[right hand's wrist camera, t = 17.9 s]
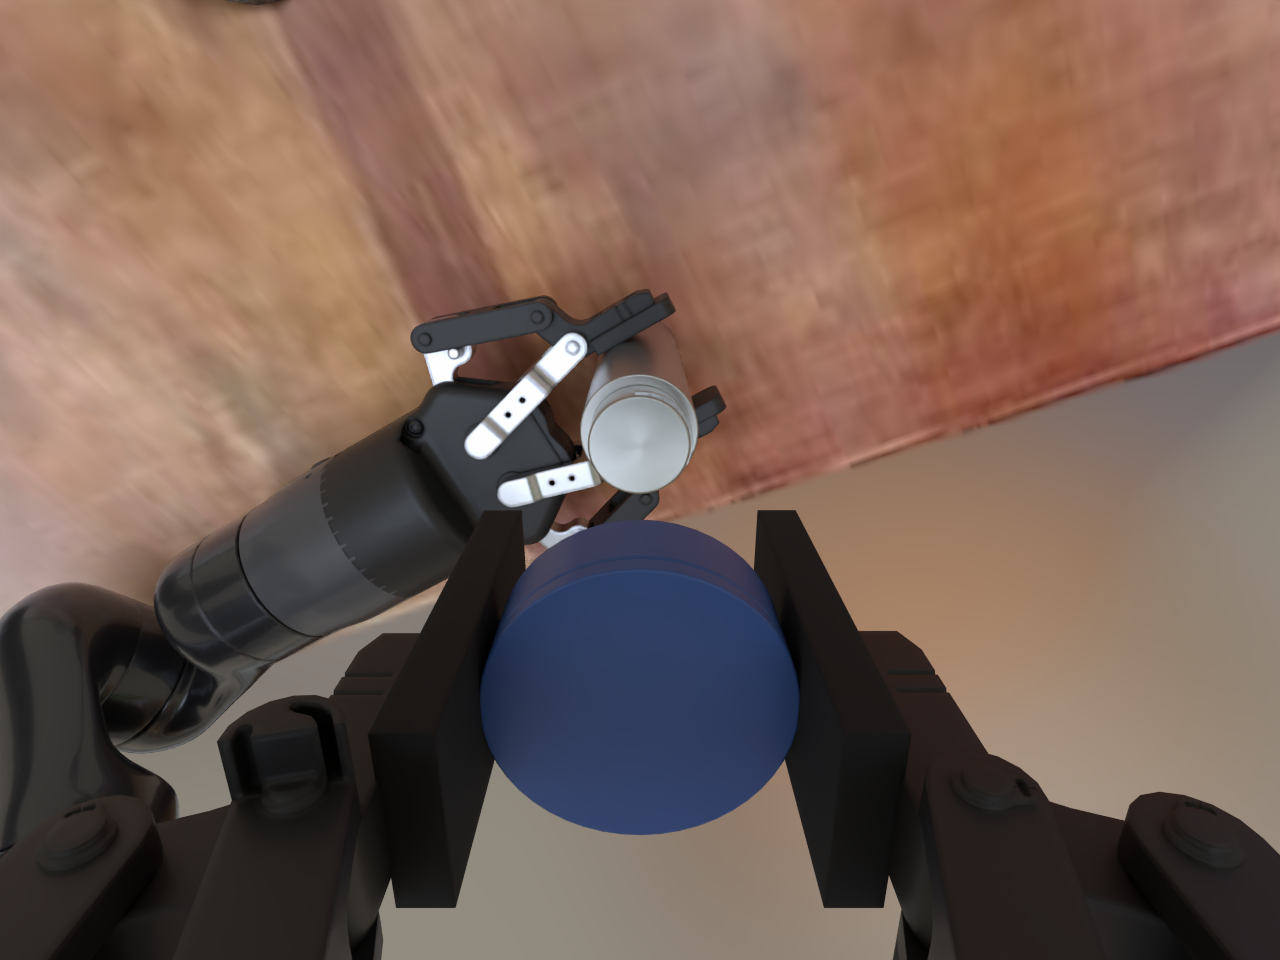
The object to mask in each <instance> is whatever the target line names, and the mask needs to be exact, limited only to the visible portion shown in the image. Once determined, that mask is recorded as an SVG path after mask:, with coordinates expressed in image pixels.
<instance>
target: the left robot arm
mask: <svg viewBox="0 0 1280 960" xmlns="http://www.w3.org/2000/svg"><path fill="white" fill-rule="evenodd" d="M675 311H676V310H675V307H674V305H673V303H672V301H671V300H670V298H669V296H668V294H667V293H664V294H661V295H659V296H658V297H656V298H653V296H652V294H651V292H650V290H649V289H645V290H638V291H635V292H633V293H632V294H630V295H628V296H626V297H625V298H623V299H621V300H619V301H618V302H616V303H614V304H613V305H611V306H609V307H607V308H606V309H604V310H602V311H600V312H599V313H597V314H595V315H594V316H592V317H590V318H588V319H585V320H576V319H573V318H571V317H570V316H569V315H567V314H566V313H565V312H564V311H563V310H562V309H560V308H559V307H558V305H557V303H556V302H555V300H554V299H553V298H551V297H549V296H538V297H533V298H528V299H523V300H518V301H513V302H508V303H503V304H498V305H493V306H488V307H483V308H478V309H473V310H468V311H463V312H458V313H453V314H448V315H443V316H438V317H434V318H432V319H430V320H428V321H426V322H424V323H422V324H420V325H419V326H417V327H415V328H414V329H413V331H412V333H411V343H412V345H413V347H414V348H415V349H416V350H417V351H419V352H421V353H424V356H425V360H426V363H427V366H428V370H429V373H430V376H431V380H432V383H433V387H432V388H431V389H430V390H429V391H428V392H427V394H426V396H425V398H424V400H423V401H422V403H421V404H420V406H419V407H417V408H416V409H414V410H413V411H411V412H409V413H407V414H406V415H404V416H402V417H401V418H399V419H397V420H395V421H394V422H392V423H390V424H389V425H387V426H385V427H383V428H382V429H380V430H378V431H376V432H375V433H373V434H371V435H370V436H368V437H366V438H364V439H363V440H361V441H359V442H358V443H356V444H354V445H352V446H351V447H349V448H347V449H345V450H344V451H342V452H340V453H339V454H337V455H335V456H334V457H330V458H327V459H325V460H322V461H320V462H318V463H317V464H315V465H314V466H312V468H311V469H310V470H309V471H308V472H306V473H304V474H303V475H301V476H299V477H297V478H296V479H294V480H292V481H291V482H289V483H288V484H286V485H285V486H283V487H282V488H281V489H280V490H278V491H277V492H276V493H275V494H273V495H272V496H271V497H270V498H269V499H267V500H266V501H265V502H264V503H262V504H261V505H259V506H258V507H256V508H255V509H253V510H251V511H249V512H248V513H246V514H244V515H243V516H241V517H239V518H237V519H236V520H234V521H232V522H230V523H229V524H227V525H225V526H224V527H222V528H220V529H218V530H217V531H215V532H213V533H212V534H210V535H208V536H207V537H205V538H203V539H202V540H200V541H198V542H196V543H195V544H193V545H192V546H190V547H188V548H187V549H185V550H184V551H183V552H181V553H180V554H179V555H177V556H176V557H175V558H174V559H173V560H172V561H171V562H170V563H169V564H168V565H167V566H166V567H165V569H164V570H163V572H162V573H161V575H160V577H159V579H158V581H157V584H156V588H155V594H154V607H152V606H149V605H147V604H144V603H141V602H139V601H136V600H134V599H131V598H129V597H126V596H123V595H121V594H118V593H116V592H113V591H110V590H108V589H105V588H102V587H99V586H95V585H90V584H85V583H76V582H75V583H61V584H57V585H52V586H49V587H46V588H43V589H41V590H39V591H36V592H34V593H32V594H30V595H29V596H27V597H25V598H24V599H22V600H21V601H20V602H18V603H17V604H16V605H14V606H13V607H12V608H11V609H10V610H8V611H7V612H6V613H5V614H4V615H3V617H2V618H1V619H0V859H1V858H2V857H3V856H4V855H5V854H6V853H7V852H8V851H9V850H10V849H11V848H12V847H13V846H14V845H15V844H16V843H17V842H18V841H19V840H20V839H21V838H23V837H24V836H25V835H26V834H28V833H29V832H30V831H31V830H32V829H34V828H35V827H36V826H37V825H39V824H40V823H41V822H43V821H45V820H47V819H49V818H51V817H52V816H54V815H56V814H58V813H60V812H61V811H63V810H65V809H67V808H69V807H72V806H75V805H78V804H81V803H84V802H87V801H89V800H92V799H95V798H102V797H109V796H117V795H124V796H130V797H136V798H140V799H141V800H142V801H144V802H145V803H146V804H147V805H148V806H149V807H150V808H151V810H152V814H153V817H154V820H155V823H156V824H157V823H161V822H165V821H169V820H174V819H178V818H179V804H178V799H177V795H176V793H175V791H174V789H173V788H172V786H170V785H169V784H168V783H167V782H166V781H165V780H164V779H163V778H161V777H160V776H158V775H156V774H154V773H153V772H151V771H149V770H147V769H145V768H143V767H141V766H139V765H138V764H136V763H134V762H132V761H131V760H129V759H128V758H126V757H125V756H124V755H123V754H121V753H120V752H119V751H123V752H128V753H153V752H159V751H163V750H167V749H171V748H174V747H177V746H180V745H182V744H185V743H187V742H189V741H191V740H193V739H195V738H196V737H198V736H199V735H201V734H202V733H203V732H204V731H206V730H207V729H208V728H209V727H210V726H211V725H212V724H213V723H214V722H215V721H216V720H217V719H218V718H219V717H220V716H221V715H222V714H223V713H224V712H225V711H226V710H227V709H228V708H229V707H230V706H231V705H232V704H233V703H234V702H235V701H236V700H237V699H238V698H239V697H240V696H241V695H242V694H244V693H245V692H246V691H247V690H248V689H249V688H250V687H251V686H252V685H253V684H254V683H255V682H256V681H257V680H258V678H259V677H260V676H262V675H263V674H264V673H265V672H266V671H267V670H268V669H269V668H270V667H271V666H272V665H273V664H274V663H276V662H278V661H280V660H282V659H284V658H286V657H288V656H290V655H292V654H294V653H296V652H298V651H300V650H302V649H304V648H306V647H307V646H309V645H311V644H313V643H315V642H317V641H319V640H321V639H323V638H324V637H326V636H328V635H330V634H332V633H334V632H336V631H338V630H341V629H343V628H346V627H349V626H352V625H355V624H357V623H360V622H363V621H366V620H368V619H371V618H373V617H375V616H377V615H379V614H381V613H383V612H385V611H387V610H389V609H391V608H392V607H394V606H396V605H398V604H400V603H402V602H404V601H406V600H408V599H410V598H411V597H413V596H415V595H417V594H419V593H421V592H423V591H425V590H427V589H429V588H431V587H432V586H434V585H436V584H438V583H440V582H442V581H444V580H446V579H447V578H449V577H450V575H451V573H452V571H453V569H454V567H455V565H456V563H457V561H458V559H459V558H460V556H461V554H462V552H463V550H464V548H465V546H466V544H467V542H468V540H469V538H470V536H471V534H472V532H473V531H474V529H475V527H476V525H477V523H478V521H479V519H480V517H481V515H482V513H483V511H484V510H522V520H523V536H524V545H529V544H534V543H537V542H540V543H541V544H542V545H543V546H545V547H546V548H547V549H549V548H550V547H552V546H553V545H555V544H556V543H558V542H560V541H561V540H563V539H565V538H567V537H569V536H571V535H573V534H575V533H577V532H580V531H582V530H585V529H588V528H591V527H594V526H597V525H601V524H606V523H612V522H617V521H627V520H643V519H644V518H645V517H646V516H647V515H648V514H649V513H650V512H651V511H652V510H653V509H654V508H655V507H656V506H657V505H658V503H659V490H657V491H654V492H650V493H644V494H635V493H628V492H624V491H621V490H618V491H617V492H616V493H615V495H614V496H613V497H612V498H611V499H610V500H609V501H608V502H607V503H606V504H605V505H604V506H603V507H602V508H601V509H600V510H599V511H598V512H597V513H596V514H595V515H594V516H593V517H592V518H591V519H590V520H589V521H588V520H587V519H585V518H575V519H573V520H572V521H571V522H569V523H567V524H558V523H555V522H554V520H555V518H556V516H557V514H558V511H559V509H560V507H561V505H562V503H563V500H564V498H565V496H566V494H567V493H569V492H573V491H578V490H582V489H586V488H591V487H595V486H597V485H600V484H601V483H603V482H604V480H603V479H602V478H601V477H600V476H599V475H598V473H597V472H596V470H595V469H594V467H593V466H592V464H591V463H590V462H589V460H588V458H587V457H586V455H585V452H584V450H583V447H582V444H581V441H578V442H572V440H571V438H570V437H569V435H568V434H567V433H566V432H565V431H564V430H563V429H562V428H561V427H560V426H559V425H557V424H556V422H555V420H554V417H553V413H552V410H551V407H550V405H549V403H548V401H547V400H546V397H547V396H548V395H549V393H550V392H551V391H552V390H553V389H554V388H555V386H556V385H557V384H558V383H559V382H560V381H561V380H562V379H563V378H564V377H565V376H566V375H567V374H568V373H569V372H570V371H571V370H572V369H573V368H574V367H575V366H576V365H577V364H578V363H579V362H580V361H581V360H582V359H583V358H585V357H586V356H588V355H590V354H592V353H594V352H596V353H597V355H598V356H600V355H601V354H603V353H605V352H607V351H608V350H610V349H612V348H613V347H615V346H617V345H619V344H621V343H622V342H624V341H626V340H628V339H630V338H631V337H633V336H635V335H637V334H638V333H640V332H642V331H644V330H645V329H647V328H649V327H651V326H652V325H654V324H656V323H658V322H659V321H661V320H663V319H665V318H667V317H668V316H670V315H671V314H673V313H674V312H675ZM531 333H537V334H539V335H540V336H541V337H542V338H543V339H545V340H546V341H547V342H548V343H549V344H551V346H550V347H549V348H548V349H547V350H546V351H545V353H544V354H543V355H541V356H540V357H539V358H538V359H537V360H536V361H535V362H534V363H533V364H532V365H531V366H530V367H529V369H528V370H527V371H526V372H525V373H524V374H523V375H522V376H521V377H520V378H519V379H518V380H517V381H516V382H515V383H510V382H501V381H492V380H483V379H474V378H465V377H458V368H459V366H460V365H462V364H464V363H466V362H467V361H469V360H470V359H471V358H472V357H473V356H474V354H475V352H476V344H481V343H486V342H491V341H496V340H501V339H506V338H511V337H516V336H521V335H526V334H531ZM691 398H692V401H693V405H694V409H695V412H696V416H697V420H698V428H699V431H698V439H699V438H701V437H703V436H705V435H706V434H708V433H710V432H712V431H713V429H714V428H715V427H716V426H717V425H718V424H719V420H718V418H717V414H719V413H720V412H722V411H723V410H724V409H725V408H726V404H725V402H724V400H723V398H722V396H721V394H720V392H719V390H718V388H717V387H716V386H711V387H708V388H706V389H704V390H703V391H701V392H699V393H697V394H695V395H693V396H691ZM576 455H579V456H576Z"/></svg>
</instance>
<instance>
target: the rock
mask: <svg viewBox="0 0 1280 960" xmlns="http://www.w3.org/2000/svg"><path fill="white" fill-rule="evenodd" d="M228 1H234V2H240V3H246V4H254V5H260V4H264V3H269V2H273V1H277V0H228Z"/></svg>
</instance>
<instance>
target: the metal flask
mask: <svg viewBox="0 0 1280 960" xmlns="http://www.w3.org/2000/svg"><path fill="white" fill-rule="evenodd" d="M698 431H699V428H698V420H697V416H696V412H695V409H694V405H693V401H692V398H691V394H690V391H689V387H688V384H687V380H686V376H685V373H684V369H683V366H682V362H681V359H680V355H679V351H678V348H677V344H676V341H675V339H674V337H673V335H672V333H671V332H670V330H669V329H668V328H667V327H666V326H665V325H664V324H662V323H661V322H658V323H656V324H654V325H652V326H651V327H649V328H647V329H645V330H644V331H642V332H640V333H638V334H637V335H635V336H633V337H631V338H630V339H628V340H626V341H624V342H622V343H621V344H619V345H617V346H615V347H613V348H612V349H610V350H608V351H607V352H605V353H603V354H601V355H600V356H599V357H598V361H597V364H596V368H595V371H594V375H593V378H592V382H591V385H590V389H589V393H588V396H587V400H586V403H585V407H584V410H583V414H582V418H581V423H580V438H581V444H582V447H583V450H584V452H585V455H586V457H587V458H588V460H589V462H590V463H591V464H592V466H593V467H594V469H595V470H596V472H597V473H598V475H599V476H600V477H601V478H602V479H603V480H604V481H605V482H606V483H608V484H609V485H611V486H612V487H614V488H616V489H619V490H621V491H624V492H628V493H635V494H644V493H650V492H654V491H657V490H660V489H662V488H664V487H666V486H668V485H669V484H671V483H672V482H673V481H674V480H675V479H676V478H678V476H679V475H680V474H681V473H682V471H683V470H684V468H685V467H686V465H688V463H689V461H690V459H691V458H692V456H693V454H694V451H695V449H696V445H697V441H698Z"/></svg>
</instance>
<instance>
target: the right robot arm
mask: <svg viewBox="0 0 1280 960" xmlns="http://www.w3.org/2000/svg"><path fill="white" fill-rule="evenodd" d="M525 570H526V568H525V552H524V536H523V520H522V510H484V511H483V513H482V515H481V517H480V519H479V521H478V523H477V525H476V527H475V529H474V531H473V532H472V534H471V536H470V538H469V540H468V542H467V544H466V546H465V548H464V550H463V552H462V554H461V556H460V558H459V559H458V561H457V563H456V565H455V567H454V569H453V571H452V573H451V575H450V577H449V579H448V581H447V583H446V584H445V586H444V588H443V590H442V592H441V594H440V596H439V598H438V600H437V602H436V604H435V606H434V608H433V610H432V611H431V613H430V615H429V617H428V619H427V621H426V623H425V625H424V627H423V629H422V631H421V633H383V634H381V635H380V636H379V637H377V638H376V639H375V640H373V641H372V642H371V643H369V644H368V645H367V646H365V647H364V648H363V649H361V650H360V651H359V652H358V653H357V655H356V656H355V658H354V660H353V661H352V663H351V664H350V666H349V667H348V669H347V671H346V672H345V677H342V678H341V680H340V682H339V683H338V685H337V686H336V688H335V689H334V694H333V695H331V696H330V697H329V699H328V698H324V697H321V696H317V695H303V696H291V697H287V698H283V699H278V700H274V701H270V702H268V703H266V704H264V705H262V706H259V707H257V708H255V709H253V710H250V711H248V712H247V713H245V714H244V715H243V716H241V717H240V718H239V719H237V720H236V721H235V722H233V723H232V724H230V725H229V726H228V727H227V729H226V730H225V731H224V733H223V734H222V736H221V737H220V738H219V740H218V741H217V743H218V747H219V751H220V755H221V759H222V763H223V767H224V771H225V775H226V779H227V783H228V787H229V791H230V795H231V798H232V802H231V804H230V805H227V806H224V807H221V808H217V809H214V810H211V811H207V812H203V813H199V814H195V815H190V816H186V817H182V818H178V819H174V820H169V821H165V822H161V823H157V824H156V823H155V820H154V817H153V814H152V810H151V808H150V807H149V806H148V805H147V804H146V803H145V802H144V801H142V800H141V799H140V798H136V797H130V796H124V795H117V796H109V797H102V798H95V799H92V800H89V801H87V802H84V803H81V804H78V805H75V806H72V807H69V808H67V809H65V810H63V811H61V812H60V813H58V814H56V815H54V816H52V817H51V818H49V819H47V820H45V821H43V822H41V823H40V824H39V825H37V826H36V827H35V828H34V829H32V830H31V831H30V832H29V833H28V834H26V835H25V836H24V837H23V838H21V839H20V840H19V841H18V842H17V843H16V844H15V845H14V846H13V847H12V848H11V849H10V850H9V851H8V852H7V853H6V854H5V855H4V856H3V857H2V858H1V859H0V960H381V956H382V946H383V935H382V928H381V921H380V916H379V908H380V906H381V903H382V900H383V898H384V895H385V892H386V890H387V887H388V884H389V881H390V879H392V886H393V892H394V898H395V904H396V908H455V907H456V904H457V900H458V896H459V893H460V889H461V885H462V881H463V877H464V874H465V870H466V866H467V862H468V858H469V855H470V850H471V847H472V843H473V839H474V836H475V832H476V828H477V824H478V820H479V817H480V813H481V809H482V805H483V802H484V798H485V794H486V790H487V786H488V783H489V779H490V775H491V771H492V768H493V764H494V760H495V759H494V757H493V755H492V753H491V751H490V749H489V747H488V744H487V741H486V739H485V736H484V733H483V727H482V717H481V706H480V683H481V677H482V673H483V670H484V667H485V663H486V660H487V657H488V654H489V651H490V649H491V645H492V642H493V640H494V637H495V634H496V631H497V628H498V625H499V622H500V619H501V616H502V613H503V610H504V607H505V604H506V602H507V600H508V598H509V595H510V593H511V591H512V589H513V587H514V586H515V584H516V583H517V581H518V580H519V578H520V577H521V575H522V574H523V573H524V571H525ZM754 571H755V572H756V574H757V575H758V576H759V578H760V579H761V581H762V582H763V584H764V585H765V587H766V589H767V591H768V593H769V595H770V597H771V599H772V601H773V604H774V607H775V610H776V613H777V616H778V619H779V621H780V624H781V627H782V630H783V633H784V636H785V639H786V642H787V645H788V648H789V651H790V654H791V657H792V660H793V663H794V666H795V669H796V672H797V675H798V681H799V688H800V701H799V712H798V722H797V730H796V733H795V736H794V739H793V742H792V745H791V747H790V749H789V751H788V753H787V755H786V757H785V762H786V765H787V769H788V773H789V777H790V780H791V784H792V788H793V792H794V796H795V799H796V803H797V807H798V811H799V815H800V818H801V822H802V826H803V829H804V834H805V837H806V841H807V845H808V849H809V853H810V856H811V860H812V864H813V868H814V871H815V875H816V879H817V883H818V887H819V890H820V894H821V898H822V902H823V906H824V908H883V907H884V901H885V895H886V889H887V883H888V877H889V876H890V879H891V882H892V885H893V887H894V890H895V893H896V895H897V898H898V901H899V903H900V906H901V909H902V910H901V916H900V921H899V927H898V933H897V939H896V944H895V950H894V956H893V960H1280V855H1279V854H1278V853H1277V852H1276V851H1275V850H1274V849H1273V848H1272V847H1271V846H1270V845H1269V844H1268V843H1267V842H1266V841H1265V840H1264V839H1263V838H1262V837H1261V836H1260V835H1258V834H1257V833H1256V832H1255V831H1253V830H1252V829H1251V828H1250V827H1248V826H1247V825H1246V824H1245V823H1243V822H1242V821H1241V820H1240V819H1238V818H1236V817H1234V816H1232V815H1230V814H1229V813H1227V812H1225V811H1223V810H1221V809H1219V808H1218V807H1216V806H1214V805H1212V804H1209V803H1206V802H1203V801H1200V800H1197V799H1194V798H1191V797H1188V796H1186V795H1180V794H1172V793H1164V792H1156V793H1150V794H1144V795H1140V796H1139V797H1138V798H1137V799H1136V800H1134V801H1133V802H1132V803H1131V804H1130V806H1129V809H1128V812H1127V815H1126V818H1125V821H1123V820H1119V819H1115V818H1111V817H1106V816H1102V815H1098V814H1093V813H1089V812H1085V811H1081V810H1077V809H1072V808H1069V807H1066V806H1062V805H1059V804H1056V803H1053V802H1050V801H1049V800H1048V798H1047V797H1046V795H1045V794H1044V792H1043V791H1042V789H1041V787H1040V786H1039V784H1038V783H1037V782H1036V781H1035V780H1034V779H1032V778H1031V777H1030V776H1029V775H1028V774H1027V773H1025V772H1024V771H1023V770H1022V769H1021V768H1019V767H1017V766H1015V765H1013V764H1011V763H1009V762H1008V761H1006V760H1004V759H1002V758H1000V757H998V756H994V755H990V754H988V752H987V751H986V749H985V748H984V746H983V745H982V743H981V742H980V740H979V738H978V737H977V735H976V734H975V732H974V731H973V729H972V728H971V726H970V724H969V723H968V721H967V720H966V718H965V717H964V715H963V713H962V712H961V710H960V709H959V707H958V706H957V704H956V703H955V701H954V700H953V698H952V696H951V695H950V693H947V692H946V687H945V685H944V684H943V682H942V681H941V679H940V678H939V676H938V675H935V670H934V668H933V667H932V665H931V664H930V662H929V660H928V659H927V657H926V656H925V654H924V653H923V651H922V650H921V649H920V648H919V647H918V646H916V645H915V644H914V643H912V642H911V641H910V640H908V639H907V638H905V637H904V636H903V635H901V634H900V633H899V632H897V631H858V630H857V628H856V626H855V624H854V622H853V620H852V618H851V616H850V614H849V612H848V610H847V609H846V607H845V605H844V603H843V601H842V599H841V597H840V595H839V593H838V591H837V589H836V587H835V585H834V583H833V582H832V580H831V578H830V576H829V574H828V572H827V570H826V568H825V566H824V564H823V562H822V560H821V558H820V556H819V555H818V553H817V551H816V549H815V547H814V545H813V543H812V541H811V539H810V537H809V535H808V533H807V531H806V530H805V528H804V526H803V524H802V522H801V520H800V518H799V516H798V514H797V512H796V511H795V510H758V513H757V529H756V545H755V561H754Z"/></svg>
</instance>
